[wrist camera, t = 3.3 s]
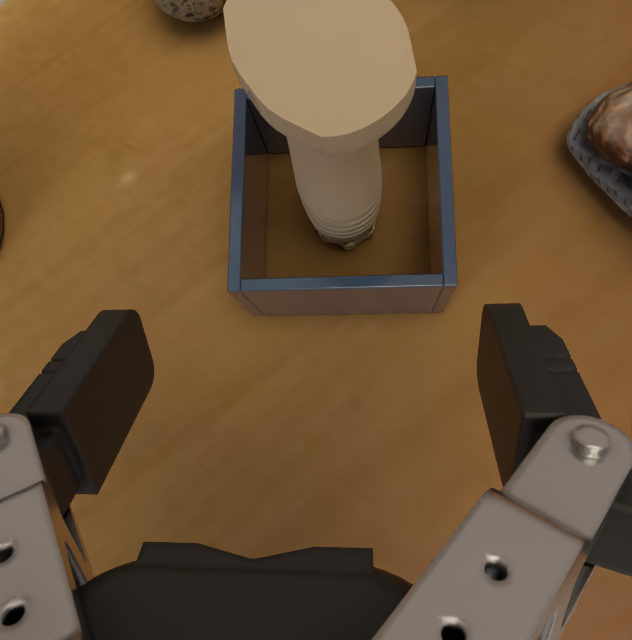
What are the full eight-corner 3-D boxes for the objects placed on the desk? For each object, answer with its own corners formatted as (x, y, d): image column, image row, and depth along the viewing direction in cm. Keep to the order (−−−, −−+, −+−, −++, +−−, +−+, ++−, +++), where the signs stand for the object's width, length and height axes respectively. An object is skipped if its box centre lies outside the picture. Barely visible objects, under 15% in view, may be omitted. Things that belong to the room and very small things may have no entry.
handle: (342, 294, 30) (308, 166, 15) (279, 205, 32) (192, 10, 17) (416, 244, 30) (450, 70, 16) (349, 157, 32) (323, -78, 17)
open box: (253, 316, 30) (226, 291, 25) (258, 145, 32) (234, 88, 27) (443, 312, 29) (457, 286, 24) (436, 135, 31) (447, 74, 26)
